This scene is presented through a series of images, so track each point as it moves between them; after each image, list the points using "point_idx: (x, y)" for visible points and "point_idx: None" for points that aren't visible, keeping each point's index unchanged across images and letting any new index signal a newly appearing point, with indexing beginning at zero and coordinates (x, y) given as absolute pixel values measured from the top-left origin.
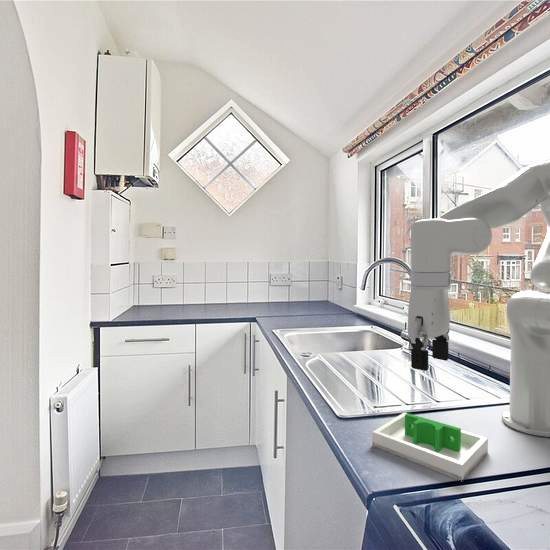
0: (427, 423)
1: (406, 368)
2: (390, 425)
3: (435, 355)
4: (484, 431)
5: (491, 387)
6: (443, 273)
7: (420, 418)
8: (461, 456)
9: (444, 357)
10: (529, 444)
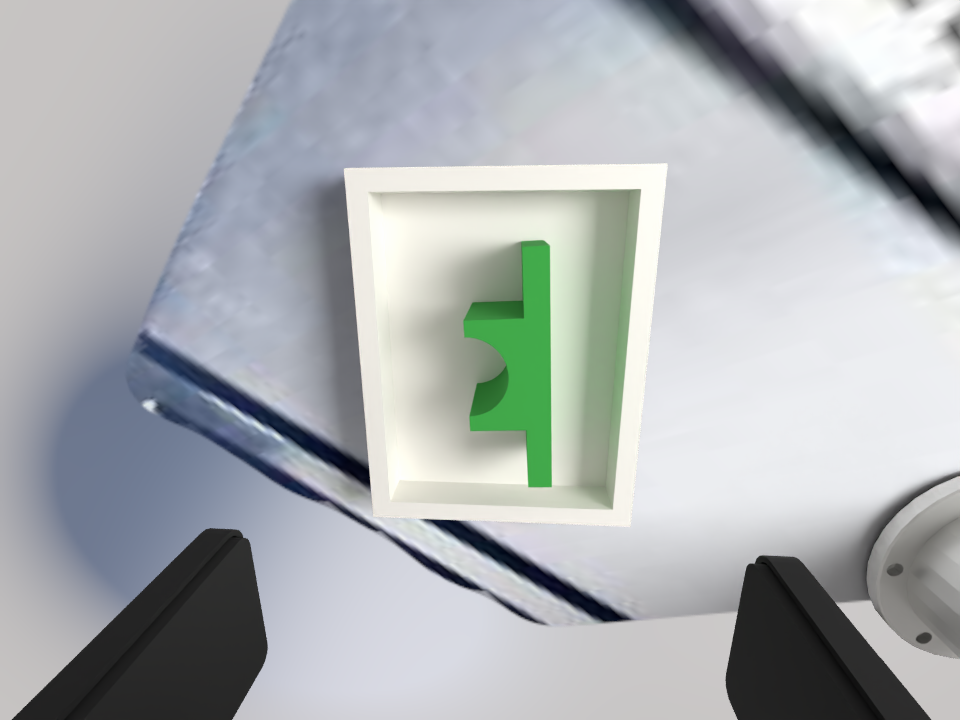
0: (508, 368)
1: None
2: (474, 190)
3: (758, 615)
4: (800, 445)
5: None
6: None
7: (532, 325)
8: (503, 458)
9: (741, 696)
10: None
